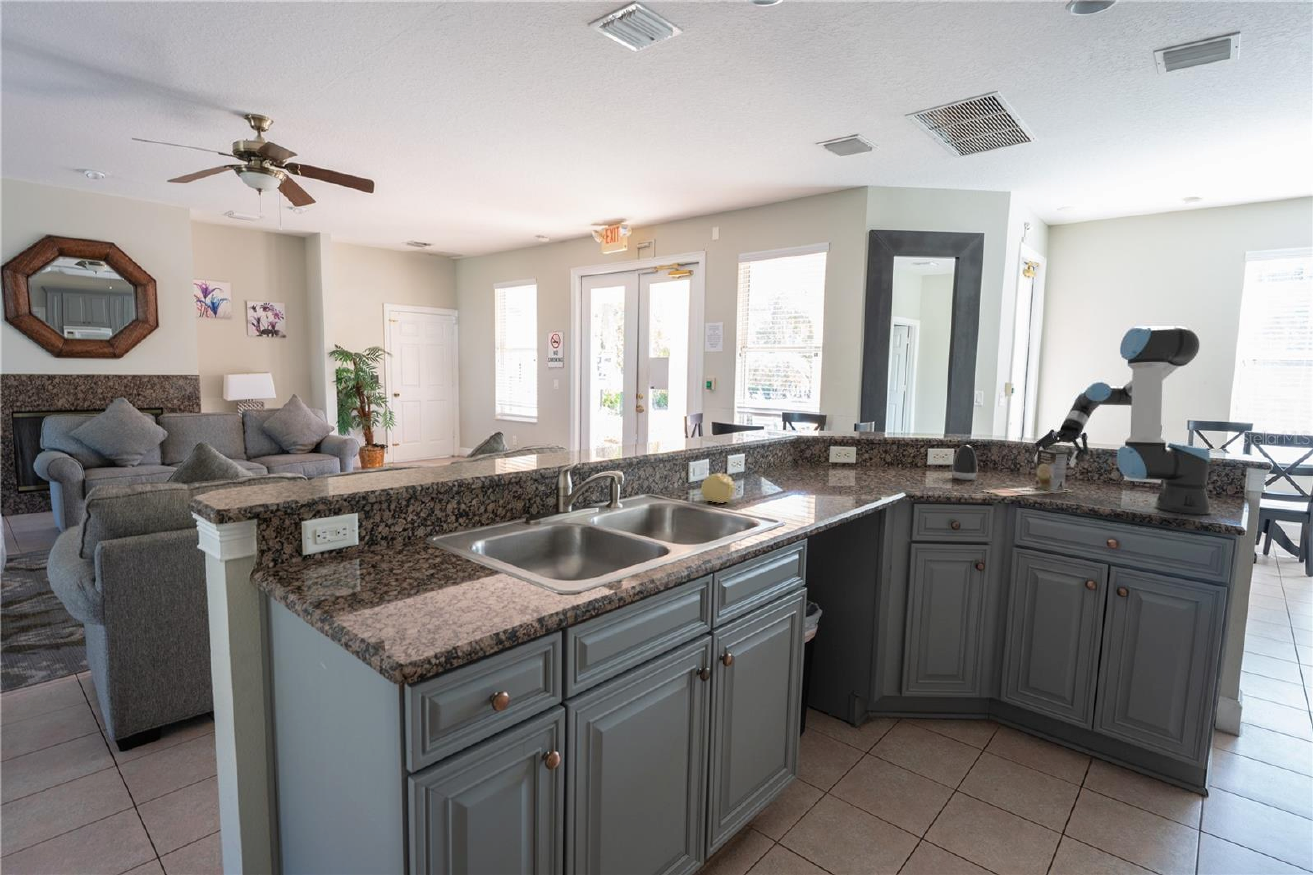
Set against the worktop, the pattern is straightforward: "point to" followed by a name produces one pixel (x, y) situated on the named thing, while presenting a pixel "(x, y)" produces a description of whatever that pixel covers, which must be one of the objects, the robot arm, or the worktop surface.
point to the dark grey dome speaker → (965, 463)
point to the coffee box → (1051, 470)
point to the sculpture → (718, 488)
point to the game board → (1019, 491)
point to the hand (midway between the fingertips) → (1052, 462)
